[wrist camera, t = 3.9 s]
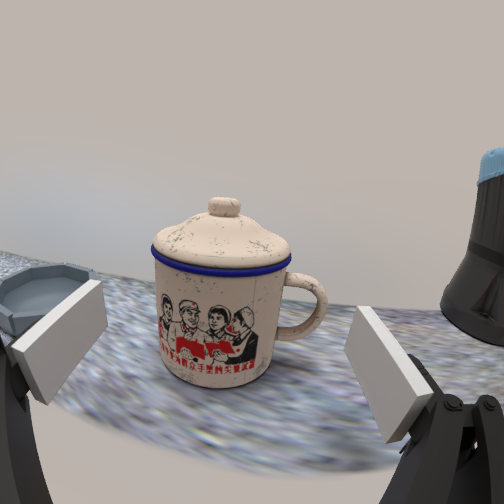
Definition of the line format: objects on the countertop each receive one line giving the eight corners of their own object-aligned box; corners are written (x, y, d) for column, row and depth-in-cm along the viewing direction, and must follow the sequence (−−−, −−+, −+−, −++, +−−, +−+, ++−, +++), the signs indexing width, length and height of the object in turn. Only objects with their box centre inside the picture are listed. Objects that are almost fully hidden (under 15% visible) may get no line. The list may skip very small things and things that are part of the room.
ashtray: (121, 296, 27) (119, 276, 26) (40, 357, 15) (31, 332, 14) (51, 274, 28) (49, 257, 28) (-20, 311, 17) (-26, 291, 16)
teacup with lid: (137, 373, 16) (122, 200, 13) (181, 314, 25) (184, 189, 22) (313, 408, 15) (362, 227, 12) (309, 335, 24) (333, 205, 20)
